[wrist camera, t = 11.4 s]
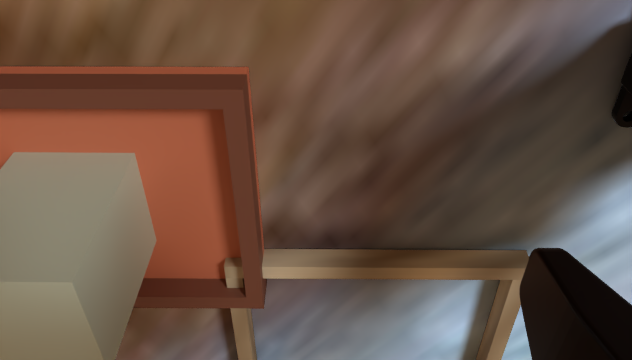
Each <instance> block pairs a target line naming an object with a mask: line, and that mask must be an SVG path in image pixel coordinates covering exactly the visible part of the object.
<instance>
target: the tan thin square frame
mask: <svg viewBox="0 0 632 360" xmlns="http://www.w3.org/2000/svg"><path fill="white" fill-rule="evenodd" d="M528 260H529V256H528V254H527V252H526V250H378V249H264V254H263V263H262V273H263V278H265V279H438V280H500V283H499V286H498V289H497V293H496V296H495V299H494V302H493V306H492V309H491V312H490V315H489V318H488V322H487V325H486V328H485V331H484V335H483V338H482V341H481V344H480V348H479V351H478V354H477V357H476V360H501V358H502V356H503V353H504V350H505V347H506V344H507V342H508V339H509V336H510V333H511V330H512V328H513V325H514V322H515V319H516V316H517V314H518V311H519V308H520V305H521V302H520V295H519V289H520V283H521V280H522V277H523V274H524V272H525V269H526V266H527V263H528ZM224 270H225V277H226V283H227V288H244V276H243V268H242V260H241V258H226V259H225V264H224ZM230 309H231V315H232V322H233V328H234V335H235V341H236V348H237V354H238V360H257V356H256V347H255V339H254V331H253V322H252V314H251V308H230Z"/></svg>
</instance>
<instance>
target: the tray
mask: <svg viewBox="0 0 632 360" xmlns="http://www.w3.org/2000/svg"><path fill="white" fill-rule="evenodd" d="M14 152H69V153H135V156H136V160H137V164H138V168H139V172H140V176H141V180H142V184H143V188H144V192H145V196H146V200H147V204H148V208H149V212H150V216H151V220H152V224H153V228H154V232H155V236H156V240H157V241H156V244H155V246H154V249H153V252H152V255H151V258H150V261H149V264H148V267H147V269H146V272H145V275H144V278H143V281H142V284H141V287H140V289H139V292H138V295H137V298H136V301H135V304H134V307H133V308H263V309H264V303H265V294H266V284H267V279H265V278H263V273H262V263H263V254H264V241H263V229H262V218H261V206H260V195H259V183H258V171H257V160H256V148H255V136H254V125H253V113H252V102H251V90H250V78H249V67H38V66H0V169H1V168H2V166H3V165H4V164H5V163H6V161H7V160H8V159H9V158H10V156H11V155H12V154H13V153H14ZM226 258H241V260H242V268H243V276H244V288H227V283H226V277H225V270H224V264H225V259H226Z"/></svg>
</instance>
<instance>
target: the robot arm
mask: <svg viewBox="0 0 632 360" xmlns="http://www.w3.org/2000/svg"><path fill="white" fill-rule="evenodd" d="M621 83H622V87H621V90H620V92H619V95H618V98H617V100H616V103H615V105H614V108H613V111H612V117H613V119H614V120H615V122H616V123H617V124H618V125H619V126H622V127H632V54H631V57H630V59H629V62H628V65H627V67H626V70H625V72H624V75H623V78H622V80H621ZM628 111H631V113H630V114H629V115H627V116H624V117H623V115H624V114H625V113H626V112H628ZM519 295H520V302H521V307H522V312H523V317H524V322H525V327H526V332H527V337H528V342H529V346H530V351H531V356H532V360H632V305H631V304H630V303H628V302H627V301H626V300H625V299H624V298H622V297H621V296H620V295H619V294H618V293H616V292H615V291H614V290H613V289H612V288H610V287H609V286H608V285H607V284H605V283H604V282H603V281H602V280H601V279H599V278H598V277H597V276H596V275H595V274H593V273H592V272H591V271H590V270H589V269H587V268H586V267H585V266H584V265H582V264H581V263H580V262H579V261H578V260H576V259H575V258H574V257H573V256H572V255H570V254H569V253H568V252H567V251H565V250H563V249H560V248H536V249H534V250H533V251H532V253H531V255H530V257H529V260H528V263H527V266H526V269H525V272H524V274H523V277H522V280H521V283H520V289H519Z"/></svg>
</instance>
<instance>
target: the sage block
mask: <svg viewBox="0 0 632 360" xmlns="http://www.w3.org/2000/svg"><path fill="white" fill-rule="evenodd" d="M156 241H157V240H156V236H155V232H154V228H153V224H152V220H151V216H150V212H149V208H148V204H147V200H146V196H145V192H144V188H143V184H142V180H141V176H140V172H139V168H138V164H137V160H136V156H135V153H69V152H14V153H13V154H12V155H11V156H10V158H9V159H8V160H7V161H6V163H5V164H4V165H3V166H2V168H1V169H0V360H115V358H116V355H117V352H118V350H119V347H120V344H121V341H122V338H123V335H124V332H125V330H126V327H127V324H128V321H129V318H130V315H131V312H132V309H133V307H134V304H135V301H136V298H137V295H138V292H139V289H140V287H141V284H142V281H143V278H144V275H145V272H146V269H147V267H148V264H149V261H150V258H151V255H152V252H153V249H154V246H155V244H156Z"/></svg>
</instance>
